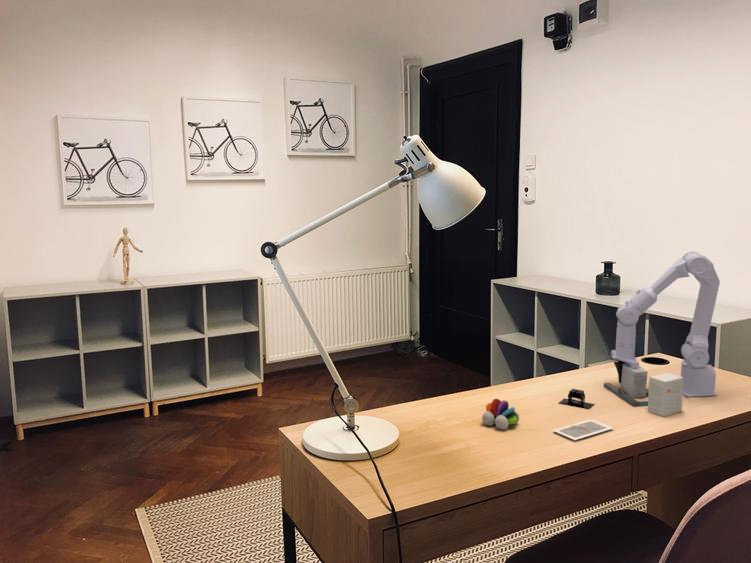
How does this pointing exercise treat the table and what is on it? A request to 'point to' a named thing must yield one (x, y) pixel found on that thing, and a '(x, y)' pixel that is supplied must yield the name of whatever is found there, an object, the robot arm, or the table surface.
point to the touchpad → (583, 429)
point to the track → (626, 396)
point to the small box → (665, 394)
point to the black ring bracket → (576, 403)
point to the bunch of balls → (500, 414)
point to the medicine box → (634, 381)
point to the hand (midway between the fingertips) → (623, 383)
